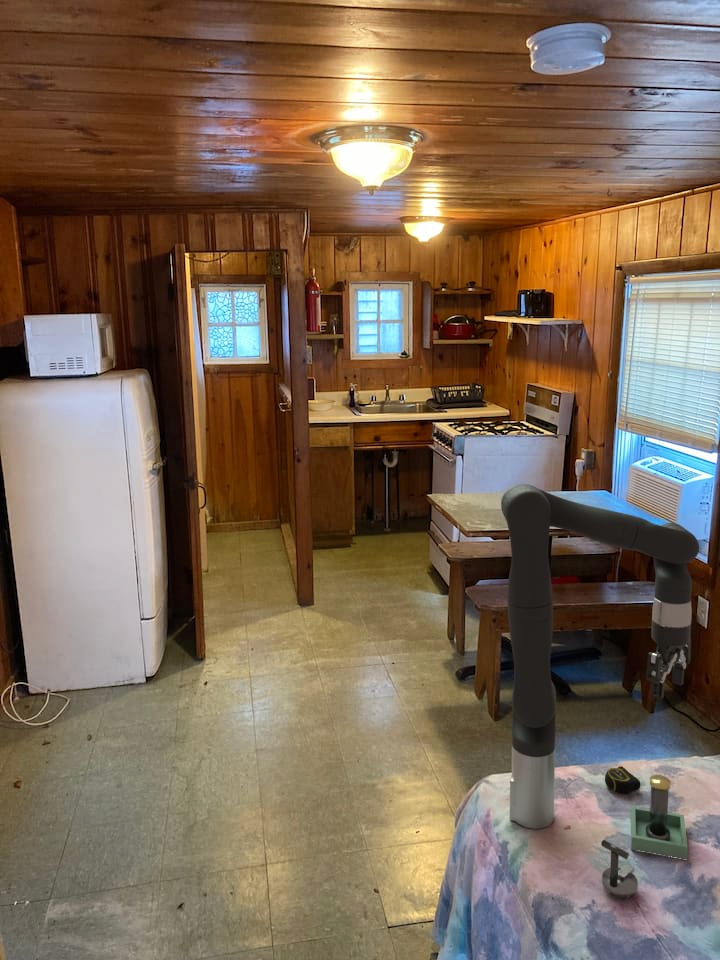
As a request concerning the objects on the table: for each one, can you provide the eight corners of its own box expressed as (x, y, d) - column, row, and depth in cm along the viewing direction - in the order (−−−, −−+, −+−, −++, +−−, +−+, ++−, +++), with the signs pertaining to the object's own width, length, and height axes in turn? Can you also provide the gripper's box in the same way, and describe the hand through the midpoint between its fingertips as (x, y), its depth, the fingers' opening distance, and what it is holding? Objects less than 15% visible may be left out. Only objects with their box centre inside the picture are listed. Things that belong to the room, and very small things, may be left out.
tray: (631, 850, 153) (631, 837, 152) (630, 818, 163) (631, 806, 162) (686, 860, 149) (687, 847, 149) (683, 827, 159) (683, 815, 159)
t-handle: (625, 909, 138) (627, 857, 135) (595, 890, 142) (596, 840, 140) (645, 890, 142) (647, 840, 140) (614, 872, 147) (616, 824, 145)
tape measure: (641, 793, 172) (642, 779, 171) (616, 800, 170) (617, 785, 169) (623, 777, 178) (623, 763, 177) (598, 783, 176) (599, 769, 175)
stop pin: (645, 840, 155) (648, 785, 152) (645, 826, 159) (647, 772, 157) (670, 845, 153) (673, 789, 151) (669, 830, 158) (671, 775, 155)
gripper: (670, 605, 161) (667, 674, 165) (636, 623, 152) (633, 695, 156) (705, 614, 156) (700, 685, 159) (672, 633, 147) (668, 708, 150)
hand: (667, 690), depth 157 cm, fingers open, 8 cm apart
